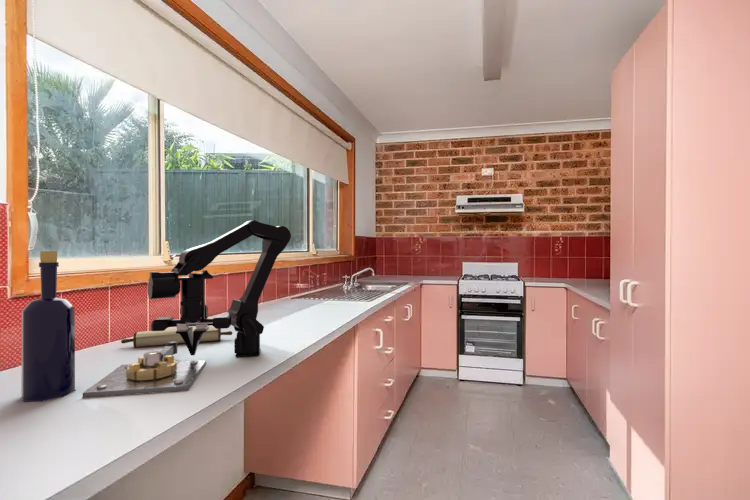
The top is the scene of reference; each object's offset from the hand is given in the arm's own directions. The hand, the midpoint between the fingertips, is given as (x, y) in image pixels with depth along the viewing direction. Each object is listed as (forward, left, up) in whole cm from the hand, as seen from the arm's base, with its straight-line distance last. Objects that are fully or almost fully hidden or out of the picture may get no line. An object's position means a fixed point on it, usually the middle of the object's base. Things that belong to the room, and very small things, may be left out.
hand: (193, 355), depth 105 cm
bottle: (+24, +17, -2) cm, 30 cm away
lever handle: (+7, +5, -1) cm, 8 cm away
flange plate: (+6, +11, -2) cm, 13 cm away
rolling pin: (+9, -25, -3) cm, 26 cm away
